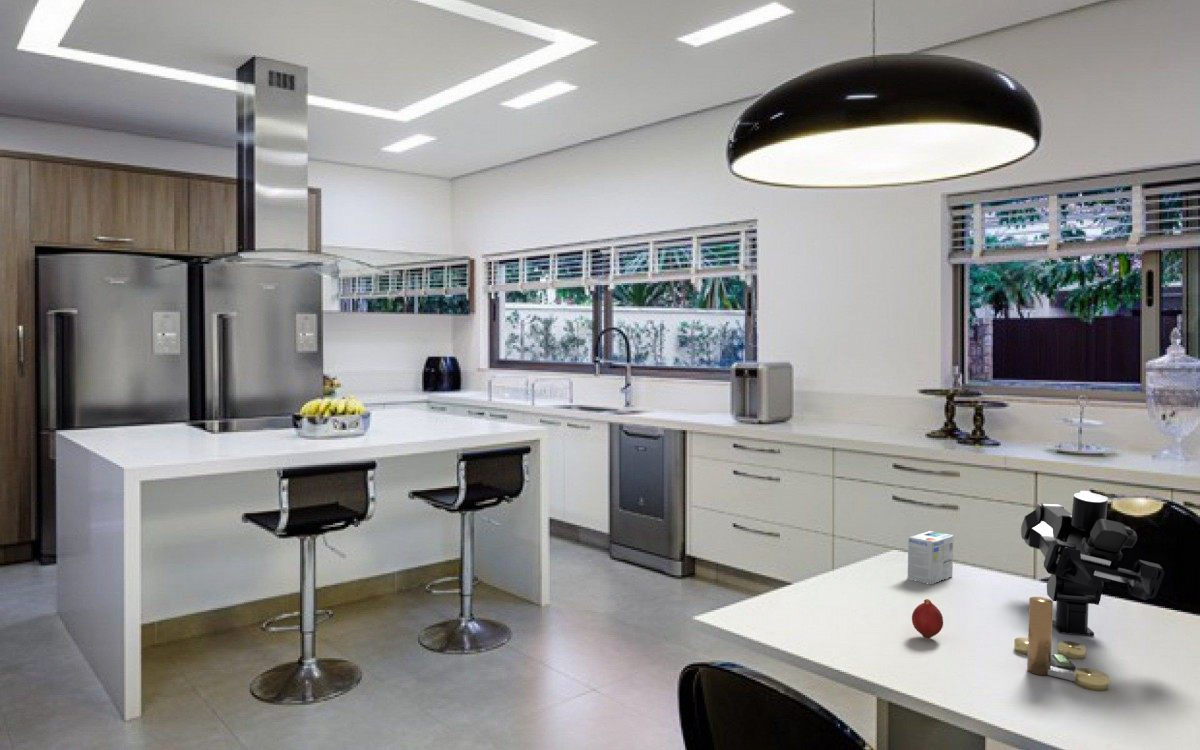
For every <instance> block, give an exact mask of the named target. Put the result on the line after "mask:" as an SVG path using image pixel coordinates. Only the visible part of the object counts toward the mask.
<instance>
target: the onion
mask: <svg viewBox="0 0 1200 750" xmlns="http://www.w3.org/2000/svg"><path fill="white" fill-rule="evenodd" d="M943 618H944V617H943V614H942V613H941V610H940V609H939V608H938V607H937V606H936V605H935V604H934V603H932V601H931V600H930V599H929V598H926V599H924V600H923V602H921V603H920V604H918V605H917V606H916V607H915V608H914V610H913V612H912V615H911V623H912V625H913V628H914V630H916V631H917V633H919V634H920V635H921V636H922V637H923V638H924V639H927V640H928V639H930V638H932V637H934V636H936V635H938V634H939V633H940V632H941V631H942V629H943V628H944V619H943Z"/></svg>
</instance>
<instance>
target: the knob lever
mask: <svg viewBox="0 0 1200 750" xmlns="http://www.w3.org/2000/svg"><path fill="white" fill-rule="evenodd" d="M1028 601H1029V602H1028V603H1029V604H1028V605H1029V606H1028V630H1027V631H1028V633H1027V634H1028V635H1027V638H1028V655H1027V659H1026V660H1027V663H1026V665H1027V666H1026V669H1027V671H1028V672H1030V673H1032V674H1035V675H1040V676H1052V677H1055V678H1059V679H1063V680H1067V681H1071V682H1074V683H1075V685H1076V686H1078V687H1080V688H1083V689H1086V690H1091V691H1096V692H1105V691H1107V690H1109V688H1110V686H1109V685H1110V676H1109V675H1108V674H1107V673H1105V672H1103V671H1101V670H1098V669H1095V668H1087V667H1080V668H1079V667H1078V668H1076V669H1075V672H1074V671H1069V670H1065V669H1061V668H1057V667H1052V665H1051V655H1052V642H1053V641H1052V638H1053V637H1052V636H1053V635H1052V634H1053V626H1052V620H1053V610H1054V609H1053V608H1054V607H1053V605H1054V601H1052V599H1051V598H1050V599H1049V598H1047V597H1041V596H1031V597H1029V599H1028Z"/></svg>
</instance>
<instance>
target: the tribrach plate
mask: <svg viewBox="0 0 1200 750" xmlns="http://www.w3.org/2000/svg"><path fill="white" fill-rule="evenodd" d="M1013 645H1014V647H1013V649H1014V651H1015V652H1017V653H1018V654H1021V655H1025V656H1028V637H1015V639H1014V644H1013ZM1070 659H1072V660H1084V659H1086V646H1085V645H1084V644H1081V643H1078V642H1075V641H1069V640H1061V641H1058V642H1057V654H1056V653H1053V654H1051V666H1052V667H1057V668H1061V669H1065V670H1069V671H1074V672H1075V669H1077V667H1076V665H1075V664H1074V663H1073V662H1072V661H1071V660H1070Z"/></svg>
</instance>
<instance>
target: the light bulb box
mask: <svg viewBox="0 0 1200 750" xmlns="http://www.w3.org/2000/svg"><path fill="white" fill-rule="evenodd" d="M954 538H955V537H954V534H950V533H949V534H948V533H943V532H938V531H932V530H927V531H925V532H922V533H919V534H915V535H912V536H909V537H908V539H907V540H908V542H907V543H908V544H907V546H908V547H907V580H909V579H912V580H911V581H913V580H916V581H915V582H917V581H920V582H919V583H921V582H924V583H923V584H925V583H928V584H927V585H929V584H932V585H935V584H937V583H936V582H938V583H940V582H942V581H941V580H943V581H945V580H944V579H946V580H947V578H948V579H950V578H949V577H951V578H952V577H953V565H954V564H953V563H954V562H953V560H954ZM939 581H940V582H939ZM934 583H935V584H934Z"/></svg>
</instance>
